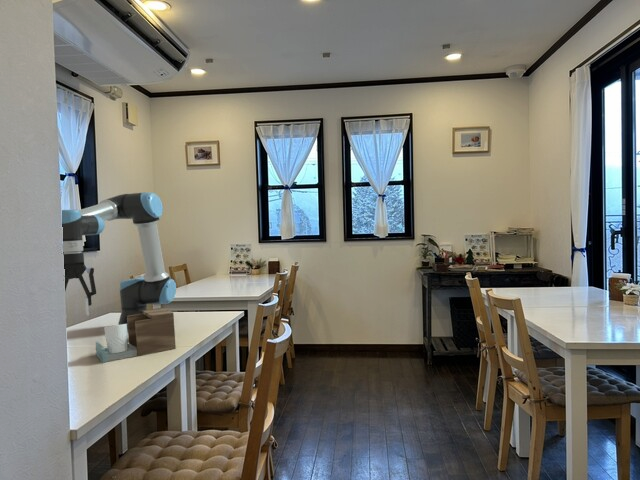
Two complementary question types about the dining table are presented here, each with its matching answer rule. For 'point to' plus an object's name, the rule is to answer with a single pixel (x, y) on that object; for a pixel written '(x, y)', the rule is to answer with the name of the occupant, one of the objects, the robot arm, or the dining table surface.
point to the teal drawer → (105, 357)
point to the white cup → (116, 338)
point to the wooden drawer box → (152, 331)
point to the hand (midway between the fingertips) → (76, 316)
